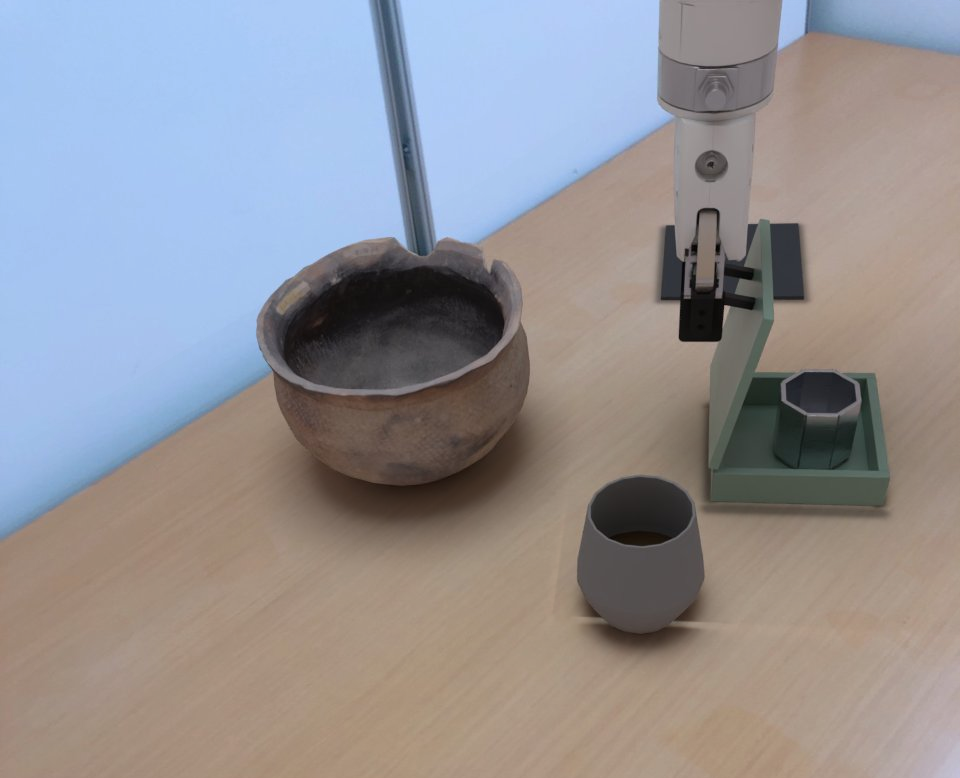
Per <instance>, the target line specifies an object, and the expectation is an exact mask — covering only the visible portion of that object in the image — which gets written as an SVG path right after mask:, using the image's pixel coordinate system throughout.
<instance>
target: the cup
mask: <svg viewBox="0 0 960 778" xmlns="http://www.w3.org/2000/svg"><path fill="white" fill-rule="evenodd" d="M695 503H696V502H695V501H694V499H693V498H692V497H691V495H690V493H689V492H688V490H686V489H685V488H684V487H683V486H681V485H680V484H678V483H677V482H675V481H673V480H671V479H667V478H664V477H662V476H659V475H649V474H636V475H627V476H622V477H619V478H616V479H614V480H611V481H609V482H607V483H605V484H604V485H603V486H602V487H600V488H599V489H598V490H597V491H595V492H594V494H593V495H592V497H591V499H590V501H589V502H588V504H587V509H586V515H585V519H584V523H583V524H584V525H583V528H582V529H583V530H582V534H581V540H580V545H579V548H578V549H579V550H578V554H577V560H576V582H577V585H578V587H579V588H580V590H581V593H582V595H583V597H584V599H585V601H586V602H587V603H588V604H589V605H590V607H591V608H592V609H593V610H594V611H595V612H596V613H597V614H598V615H599V616H600V617H601V618H602V619H603V620H604V621H605V622H607V624H609V625H610V626H611V627H613V628H615V629H617V630H620V631H621V632H624V633H631V634H641V635H642V634H650V633H655V632H658V631H660V630H662V629H665V628H667V627H669V626H670V625H671V624H672V623H673V622H674V621H676V619H677V618H678V617H680V616H681V615H682V614H683V613H684V612H685V611H686V610H687V609H688V608H689V607H690V606H691V605H692V604H693V603H694V602H695V600H697V597H698V595H699V593H700V591H701V588H702V586H703V583H704V581H705V577H706V576H705V575H706V574H705V561H704V553H703V548H702V540H701V535H700V528H699V521H698V515H697V509H696V504H695Z"/></svg>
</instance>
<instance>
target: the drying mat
mask: <svg viewBox="0 0 960 778" xmlns="http://www.w3.org/2000/svg"><path fill="white" fill-rule="evenodd" d="M799 225H800V224H799V223H798V222H795V223H794V222H792V223H789V222H788V223H786V222H785V223H770V237H771V258H772V280H773V301H774V300H776V301H777V300H778V301H779V300H781V301H783V300H804V299H805V291H804V279H803V278H804V277H803V266H802V265H803V264H802V254H801V253H802V251H801V239H800V229H799V228H800V226H799ZM757 226H758V223H748V230H747V244H746V256H745V257H744V258H743V259H742V260H741V261H738V262H737V261H736V260H728V258H727V256H726V253H725V262H724V263H728V264H733V265H739V266H744V264H745V262H746V259H747V256H748V253H749V250H750V247H751V244H752V241H753V238H754V235H755V232H756V229H757ZM664 234H665V235H664V246H663V247H664V249H663V264H662V275H661V276H662V277H661V292H660V300H661V301H680V295H681V277H682V261H681V260H680V259H679V258H678V257H677V252H676V237H675V224H666V225H665V233H664ZM739 279H740V278H735V277H729V276H724V278H723V291H725V292H727V293H733V294H735V291H736V288H737V285H738V282H739Z"/></svg>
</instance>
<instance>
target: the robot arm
mask: <svg viewBox="0 0 960 778" xmlns="http://www.w3.org/2000/svg"><path fill="white" fill-rule="evenodd" d="M782 8H783V0H659V2H658V38H657V39H658V40H657V41H658V43H657V44H658V47H657V74H656V75H657V78H656V79H657V82H656V101H657V103H658V105H659V106H660V108H661V109H662V110H663V111H665V112H666V113H668V114H670V115H672V116H674V123H673V124H674V128H673V174H672V175H673V211H674V212H673V215H674V216H673V217H674V225H675V237H676V252H677V257H678V258H679V259H680V260H681V261H682V277H681V295H680V300H679V319H678V341H680V342H682V343H718V342H719V341H720V340H721V339H722V330H723V327H724V314H725V306H726V305H725V291H723V278H724V262H725V253H726V256H727V258H728V260H736V261H737V262H738V261H741V260H742V259H743V258H744V257H745V256H746V244H747V230H748V224H749V216H750V205H751V192H752V180H753V170H754V159H755V158H754V157H755V143H756V142H755V141H756V119H757V118H756V117H757V115H756V114H757V112H759V111H761V110H762V109H764V108H765V107H766V106H768V105H769V103H770V102H771V101H772V99H773V96H774V87H775V79H776V69H777V57H778V50H779V49H778V48H779V37H780V29H781V19H782V18H781V17H782V10H783V9H782ZM694 263H697V269H696V275H693V264H694ZM715 263H717V267H716V274H714V268H715Z"/></svg>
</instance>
